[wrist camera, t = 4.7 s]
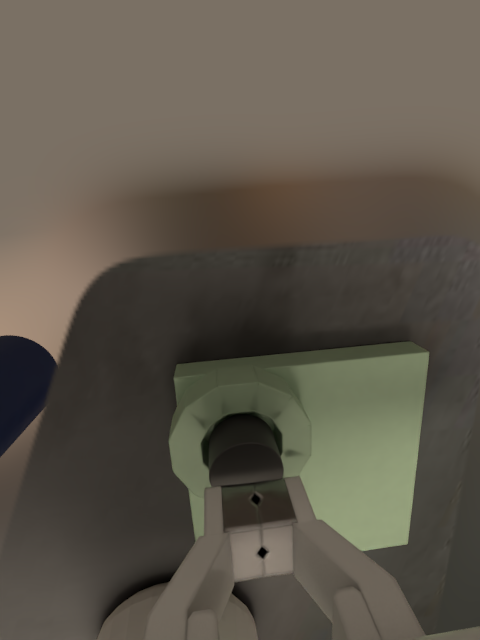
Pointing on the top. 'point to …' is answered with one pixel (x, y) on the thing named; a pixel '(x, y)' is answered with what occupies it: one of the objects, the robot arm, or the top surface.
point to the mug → (130, 617)
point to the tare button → (243, 452)
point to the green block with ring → (317, 429)
